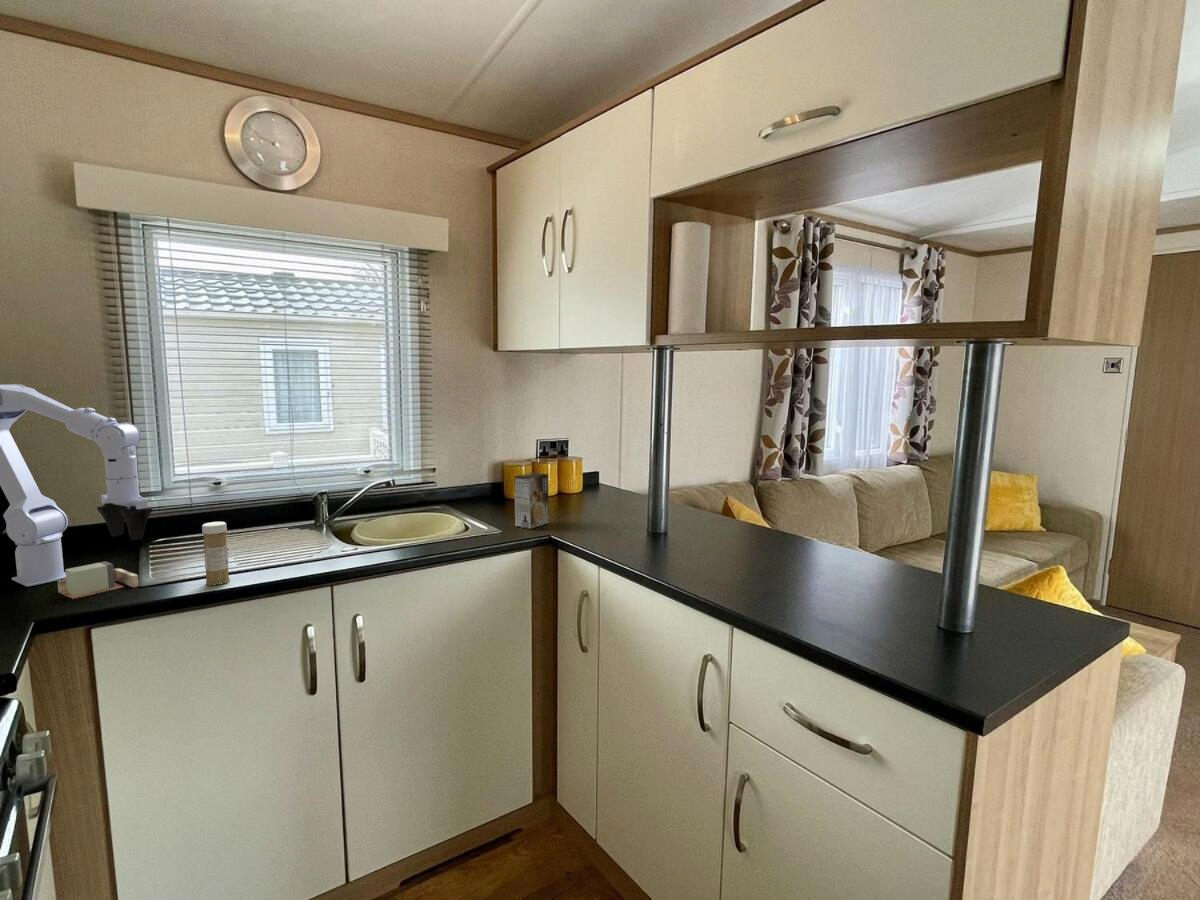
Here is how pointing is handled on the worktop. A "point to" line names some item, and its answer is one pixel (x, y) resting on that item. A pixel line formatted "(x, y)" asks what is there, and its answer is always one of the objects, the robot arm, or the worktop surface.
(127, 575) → the corner arena
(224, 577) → the sprinkles bottle
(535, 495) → the coffee box
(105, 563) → the sage block
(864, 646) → the worktop surface
